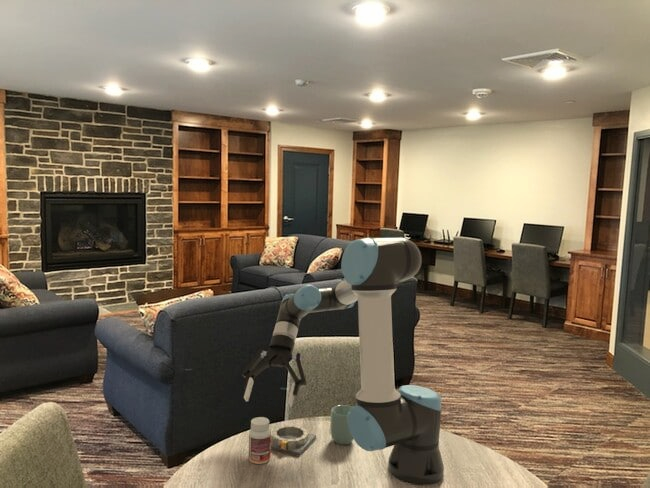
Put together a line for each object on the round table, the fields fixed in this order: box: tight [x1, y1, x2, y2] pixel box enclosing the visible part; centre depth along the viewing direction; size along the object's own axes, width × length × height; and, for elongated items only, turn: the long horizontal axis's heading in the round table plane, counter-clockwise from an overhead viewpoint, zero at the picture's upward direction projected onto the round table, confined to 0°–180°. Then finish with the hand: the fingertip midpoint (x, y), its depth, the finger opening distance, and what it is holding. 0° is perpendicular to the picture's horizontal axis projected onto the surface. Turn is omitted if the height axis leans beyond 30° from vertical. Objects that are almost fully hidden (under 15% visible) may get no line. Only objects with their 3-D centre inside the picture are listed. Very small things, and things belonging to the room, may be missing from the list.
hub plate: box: [271, 424, 317, 457], centre depth 162 cm, size 12×12×3 cm
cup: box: [330, 404, 354, 446], centre depth 164 cm, size 8×8×10 cm
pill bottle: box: [248, 416, 272, 465], centre depth 152 cm, size 6×6×11 cm
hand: (267, 402), depth 160 cm, fingers open, 13 cm apart
